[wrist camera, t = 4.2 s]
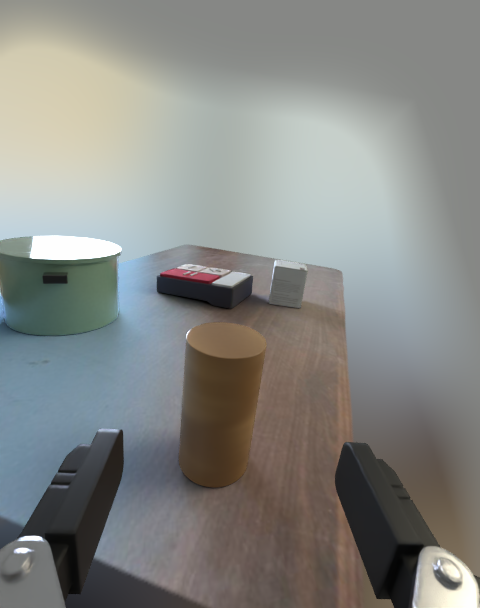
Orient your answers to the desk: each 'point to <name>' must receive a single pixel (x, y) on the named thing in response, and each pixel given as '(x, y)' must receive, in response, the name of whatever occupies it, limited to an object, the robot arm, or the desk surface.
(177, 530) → the desk surface
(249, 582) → the desk surface
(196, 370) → the tall wooden cylinder
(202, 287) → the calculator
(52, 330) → the pot
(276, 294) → the white cardboard box
